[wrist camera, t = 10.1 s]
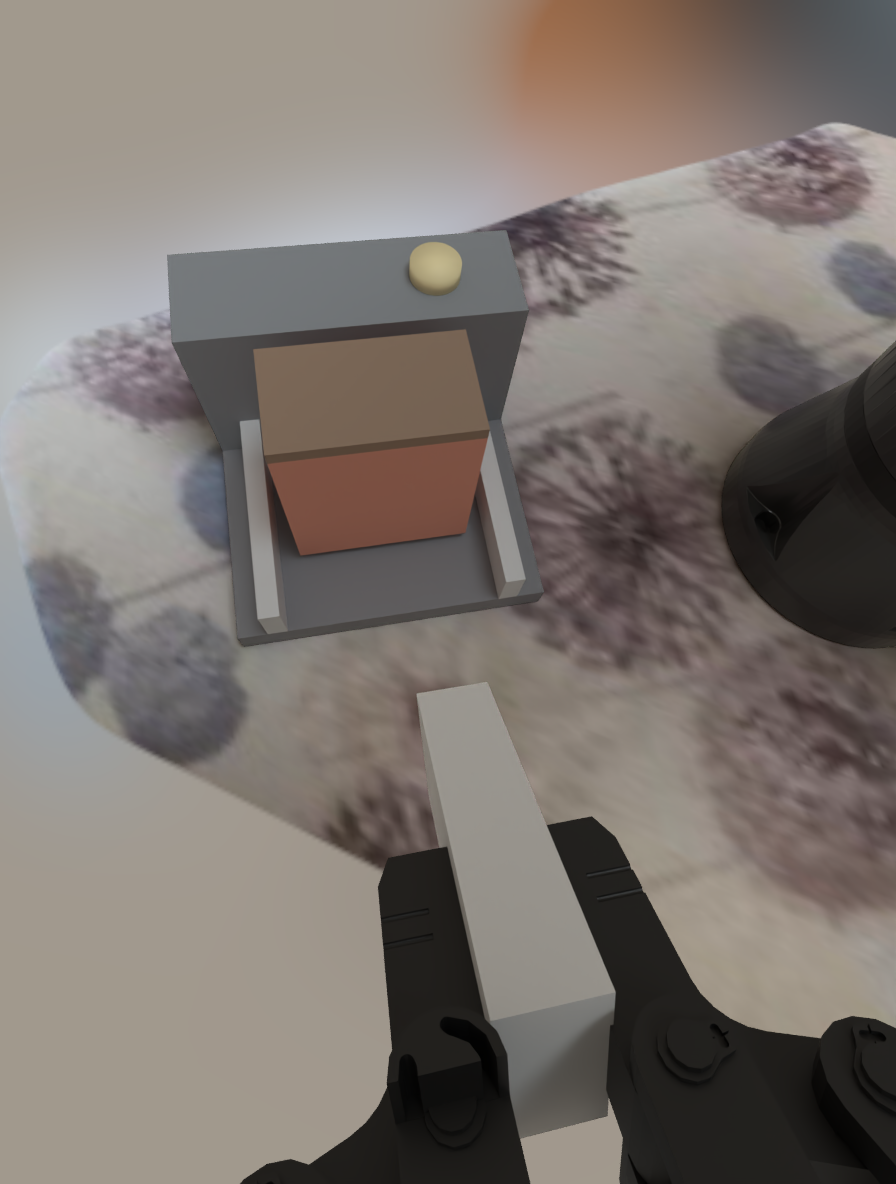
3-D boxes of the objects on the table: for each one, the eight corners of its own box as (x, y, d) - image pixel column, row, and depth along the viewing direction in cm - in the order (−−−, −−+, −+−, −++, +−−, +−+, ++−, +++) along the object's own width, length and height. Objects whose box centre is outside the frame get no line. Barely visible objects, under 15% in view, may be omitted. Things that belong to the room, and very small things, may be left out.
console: (223, 393, 38) (160, 239, 28) (480, 367, 40) (508, 215, 30) (244, 646, 33) (176, 569, 23) (537, 601, 35) (594, 512, 25)
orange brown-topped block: (290, 472, 34) (253, 349, 26) (448, 453, 36) (465, 329, 27) (300, 555, 33) (264, 455, 24) (465, 532, 34) (490, 429, 25)
